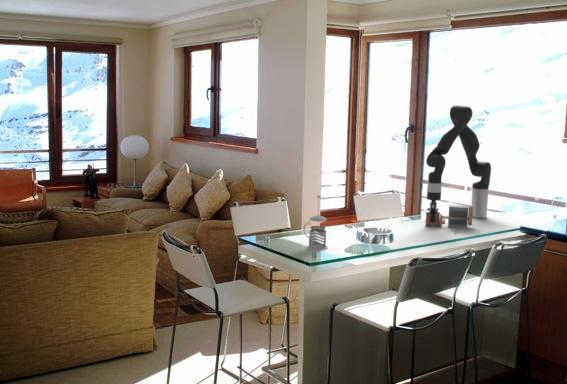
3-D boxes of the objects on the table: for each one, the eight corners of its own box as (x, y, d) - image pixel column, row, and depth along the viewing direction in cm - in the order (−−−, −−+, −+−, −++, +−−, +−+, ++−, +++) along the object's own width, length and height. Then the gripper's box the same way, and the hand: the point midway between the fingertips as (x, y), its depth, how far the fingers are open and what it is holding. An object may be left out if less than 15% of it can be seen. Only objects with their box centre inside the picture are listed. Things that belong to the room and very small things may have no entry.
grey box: (448, 225, 371) (449, 204, 369) (466, 226, 369) (467, 205, 367) (448, 227, 365) (449, 206, 363) (467, 228, 362) (468, 207, 361)
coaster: (425, 219, 386) (425, 217, 386) (445, 220, 384) (445, 218, 384) (425, 223, 376) (425, 220, 376) (445, 224, 373) (445, 221, 373)
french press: (329, 250, 308) (331, 196, 304) (304, 250, 307) (305, 196, 303) (326, 245, 317) (327, 193, 314) (302, 245, 316) (303, 193, 313)
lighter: (438, 225, 371) (438, 207, 370) (440, 226, 368) (441, 208, 366) (424, 225, 370) (425, 207, 368) (426, 226, 366) (427, 208, 365)
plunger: (439, 224, 372) (440, 203, 370) (471, 226, 368) (472, 205, 366) (439, 226, 366) (440, 205, 364) (471, 228, 362) (473, 207, 360)
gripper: (441, 193, 359) (439, 224, 361) (441, 189, 373) (439, 219, 375) (426, 192, 360) (425, 223, 363) (427, 188, 374) (425, 218, 377)
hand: (432, 221), depth 369 cm, fingers open, 5 cm apart
